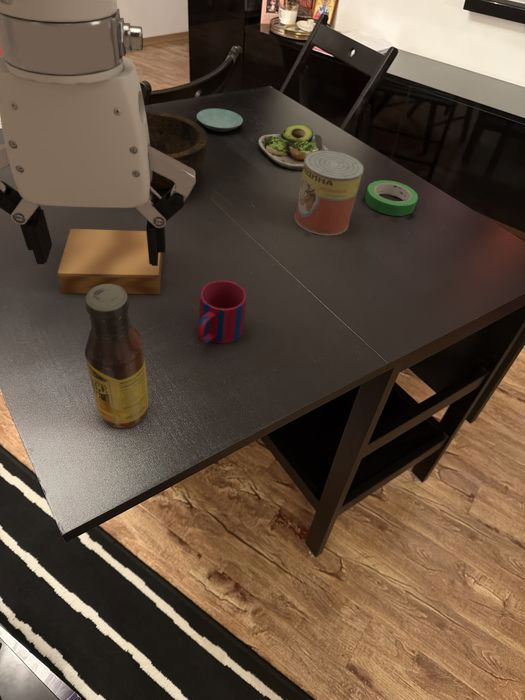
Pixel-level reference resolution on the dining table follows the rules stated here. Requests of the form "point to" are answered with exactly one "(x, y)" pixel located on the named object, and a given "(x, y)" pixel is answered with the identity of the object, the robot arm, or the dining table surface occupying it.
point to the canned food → (327, 192)
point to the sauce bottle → (115, 358)
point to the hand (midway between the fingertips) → (100, 256)
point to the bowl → (175, 142)
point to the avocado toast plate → (291, 146)
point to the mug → (221, 312)
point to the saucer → (219, 119)
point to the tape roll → (387, 205)
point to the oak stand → (108, 262)
